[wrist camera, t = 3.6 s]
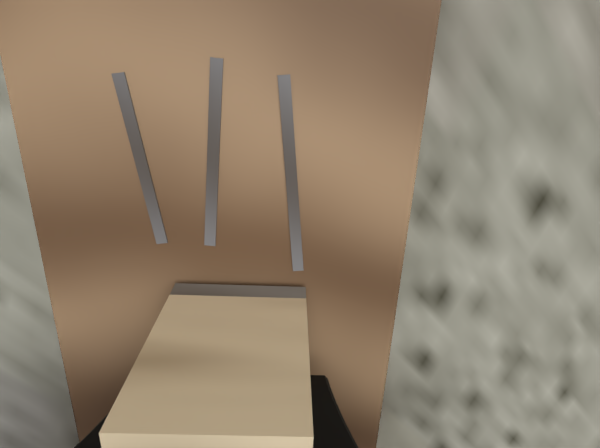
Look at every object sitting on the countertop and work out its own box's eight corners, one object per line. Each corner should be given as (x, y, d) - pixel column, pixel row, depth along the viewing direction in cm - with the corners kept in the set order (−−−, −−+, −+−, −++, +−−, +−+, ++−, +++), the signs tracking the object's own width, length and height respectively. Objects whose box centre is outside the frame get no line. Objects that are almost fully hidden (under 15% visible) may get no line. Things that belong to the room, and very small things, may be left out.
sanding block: (297, 445, 14) (299, 637, 9) (187, 443, 14) (134, 637, 9) (305, 286, 12) (313, 437, 7) (175, 283, 12) (98, 433, 7)
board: (369, 423, 16) (375, 452, 15) (95, 417, 15) (79, 447, 14) (427, -4, 11) (443, -11, 9) (16, -24, 10) (-20, -33, 9)
